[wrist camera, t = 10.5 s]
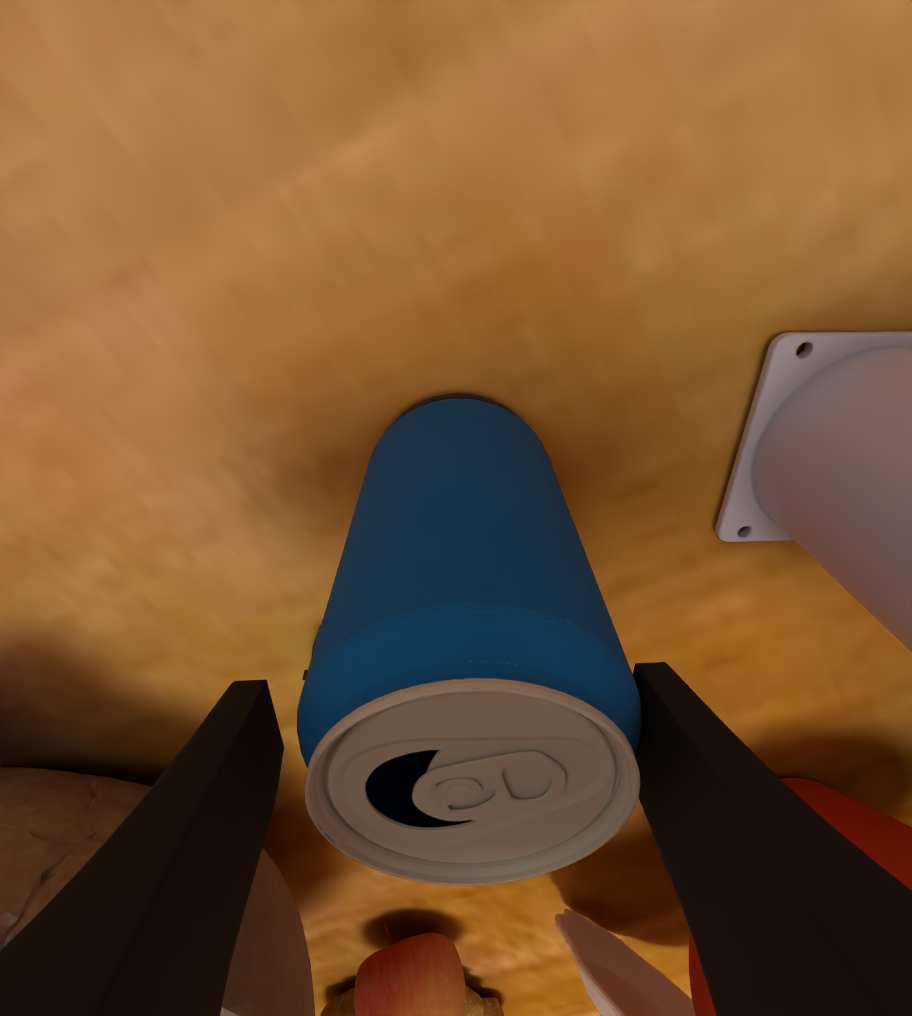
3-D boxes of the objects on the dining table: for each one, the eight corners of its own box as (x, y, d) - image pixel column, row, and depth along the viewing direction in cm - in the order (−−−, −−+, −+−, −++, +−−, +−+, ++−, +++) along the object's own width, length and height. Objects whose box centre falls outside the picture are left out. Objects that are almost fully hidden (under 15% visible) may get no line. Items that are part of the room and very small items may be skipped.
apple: (503, 1052, 33) (471, 901, 39) (420, 1076, 29) (398, 902, 35) (422, 1083, 36) (404, 937, 42) (335, 1109, 31) (328, 941, 37)
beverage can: (341, 421, 18) (200, 721, 8) (526, 366, 17) (644, 622, 7) (404, 566, 21) (363, 917, 11) (562, 527, 20) (681, 866, 10)
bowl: (274, 649, 23) (181, 911, 15) (383, 929, 37) (368, 1148, 29) (-321, 711, 24) (-743, 999, 15) (5, 964, 38) (-121, 1189, 29)
